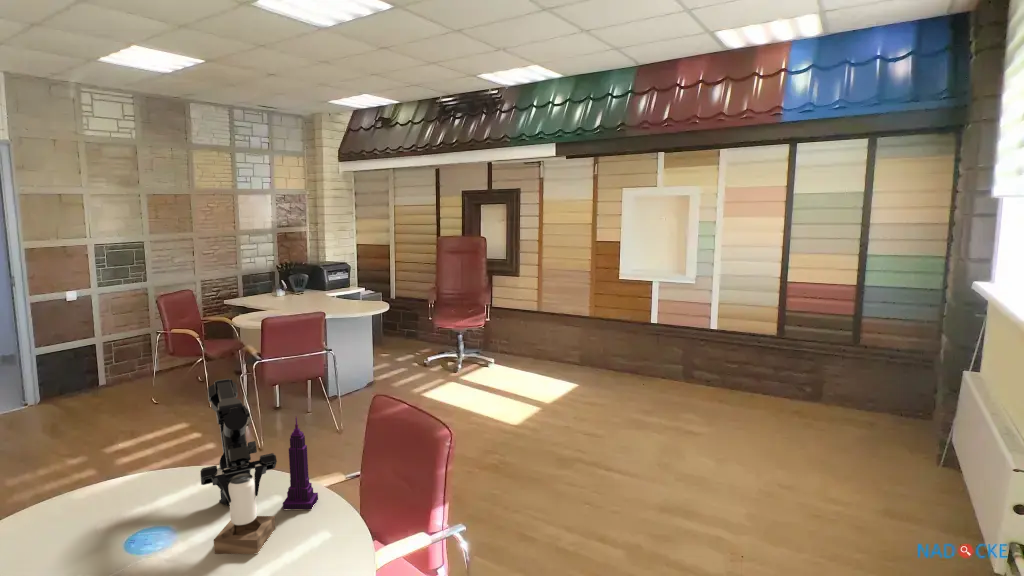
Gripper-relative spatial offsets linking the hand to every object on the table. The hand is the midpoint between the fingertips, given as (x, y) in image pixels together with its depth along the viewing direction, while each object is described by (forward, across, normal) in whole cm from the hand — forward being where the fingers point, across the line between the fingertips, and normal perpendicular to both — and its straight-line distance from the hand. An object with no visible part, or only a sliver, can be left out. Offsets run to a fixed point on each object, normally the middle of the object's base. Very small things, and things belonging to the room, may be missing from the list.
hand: (243, 498), depth 153 cm
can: (+4, 0, +6) cm, 7 cm away
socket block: (+8, 0, +10) cm, 13 cm away
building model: (0, +17, +18) cm, 25 cm away
